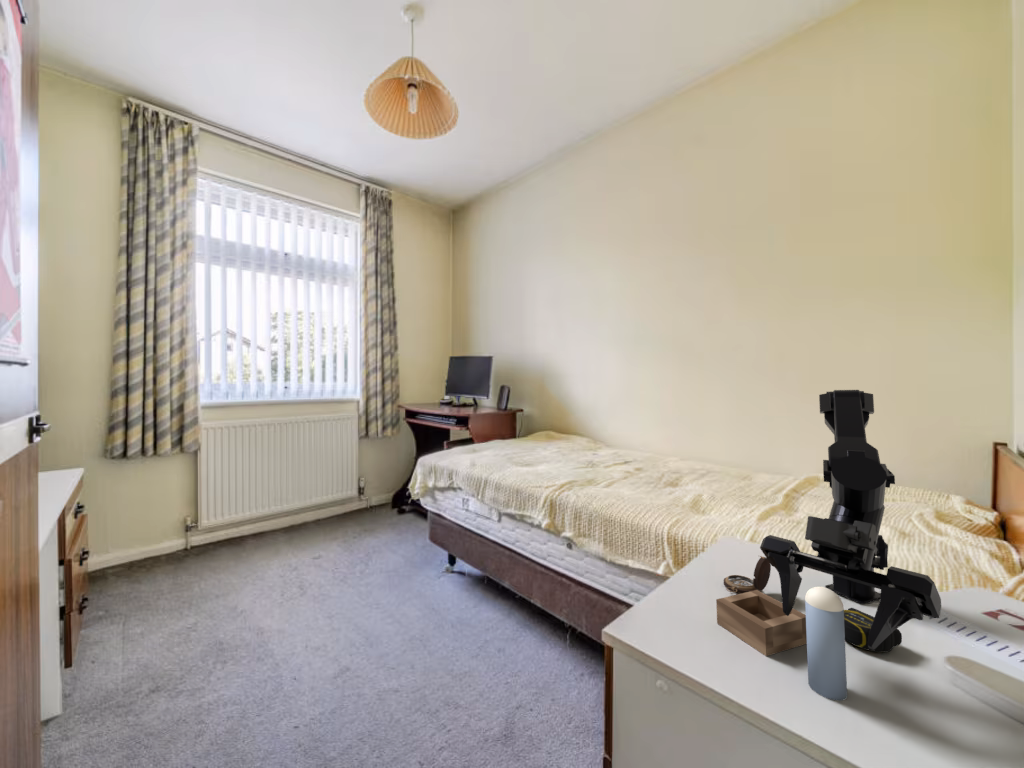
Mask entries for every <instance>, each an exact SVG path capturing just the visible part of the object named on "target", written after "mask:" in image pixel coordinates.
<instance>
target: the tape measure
mask: <svg viewBox="0 0 1024 768" xmlns="http://www.w3.org/2000/svg"><path fill="white" fill-rule="evenodd" d="M874 617H875V616H873V615H870V614H868V613H866V612H864V611H862V610H859V609H857V608H854V607H850V608H847V609H844V628H845V642H848V643H849V644H852V645H853V646H856V647H859V648H861V649H864V650H867V651H871V652H877V653H887V652H890V651H891V650H892V649H893V648H894V647H898V646H899V645H901V644H902V642H903V640H902V639H903V638H902V637H903V636H902V633H901V631H900V629H898V628H897V629H896V630H894V631H893V632H892V633H891V634H890V635H889V636H888V637H887V638H886V639H885V640H884V641H883V642H882V643H881V644H879V645H878V646H877V647H876V648H875V649H874V650H872V649H870V648H869V647H868V638H869V632H870V629H871V626H872V623H873V620H874Z"/></svg>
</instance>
